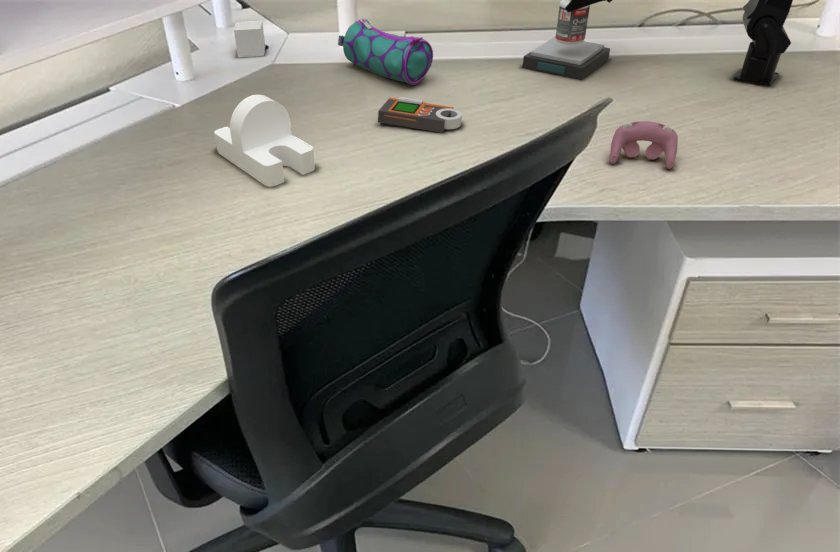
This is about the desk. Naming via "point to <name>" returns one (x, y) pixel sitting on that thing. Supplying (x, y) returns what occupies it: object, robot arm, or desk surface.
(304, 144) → the white slotted bracket
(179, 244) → the desk surface
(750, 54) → the robot arm
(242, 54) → the light grey cube
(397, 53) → the pencil case
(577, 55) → the scale
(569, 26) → the pill bottle
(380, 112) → the electronic device
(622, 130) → the video game controller
